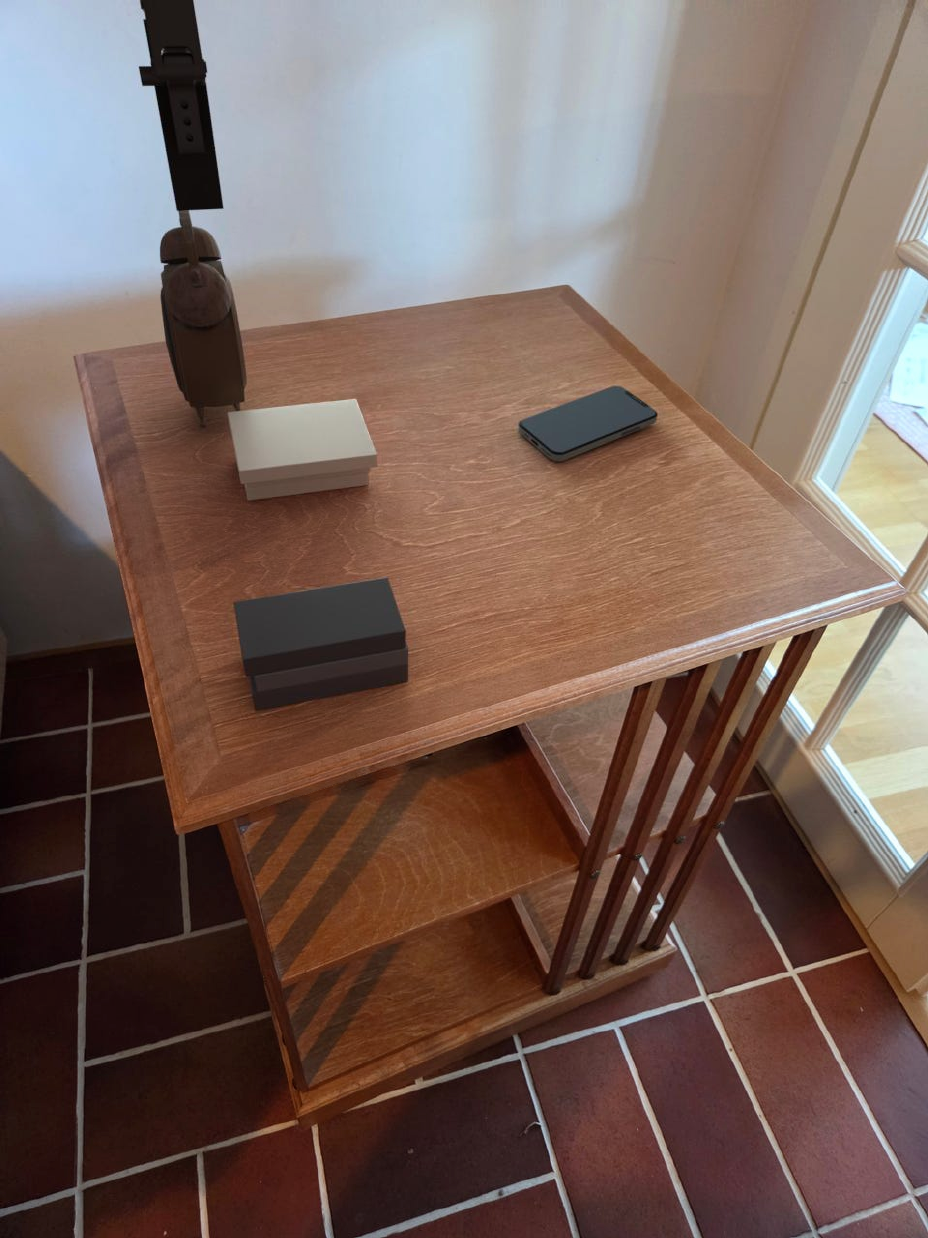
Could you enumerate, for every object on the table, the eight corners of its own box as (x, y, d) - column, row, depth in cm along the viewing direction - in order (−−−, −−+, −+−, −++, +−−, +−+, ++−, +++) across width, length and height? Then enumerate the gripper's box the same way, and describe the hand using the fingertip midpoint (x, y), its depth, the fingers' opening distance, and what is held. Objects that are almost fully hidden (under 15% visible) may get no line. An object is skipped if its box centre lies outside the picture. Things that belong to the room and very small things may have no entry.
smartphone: (514, 420, 91) (617, 381, 97) (513, 433, 92) (615, 394, 98) (557, 455, 87) (662, 413, 93) (555, 468, 88) (659, 426, 94)
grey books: (252, 711, 63) (242, 660, 59) (243, 653, 67) (233, 601, 63) (407, 681, 66) (409, 631, 62) (390, 627, 70) (390, 576, 66)
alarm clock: (174, 373, 95) (136, 188, 81) (239, 367, 97) (212, 185, 83) (185, 446, 86) (143, 251, 71) (256, 438, 88) (230, 246, 73)
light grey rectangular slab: (240, 484, 77) (238, 471, 76) (229, 424, 84) (227, 411, 83) (377, 467, 81) (377, 454, 80) (356, 410, 87) (355, 398, 86)
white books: (247, 501, 80) (243, 475, 78) (238, 455, 85) (234, 430, 83) (371, 484, 83) (370, 460, 81) (355, 441, 88) (354, 417, 86)
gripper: (221, -325, 32) (276, 242, 47) (177, -314, 48) (229, 106, 63) (5, -348, 30) (137, 251, 45) (35, -328, 46) (125, 108, 61)
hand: (191, 167), depth 54 cm, fingers open, 13 cm apart
